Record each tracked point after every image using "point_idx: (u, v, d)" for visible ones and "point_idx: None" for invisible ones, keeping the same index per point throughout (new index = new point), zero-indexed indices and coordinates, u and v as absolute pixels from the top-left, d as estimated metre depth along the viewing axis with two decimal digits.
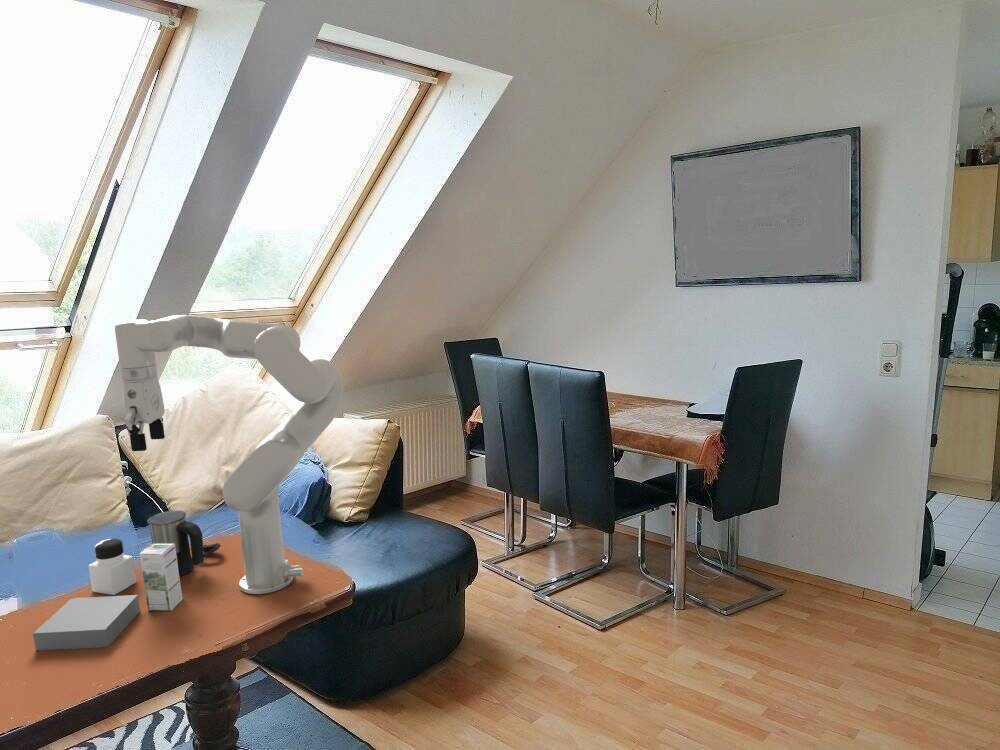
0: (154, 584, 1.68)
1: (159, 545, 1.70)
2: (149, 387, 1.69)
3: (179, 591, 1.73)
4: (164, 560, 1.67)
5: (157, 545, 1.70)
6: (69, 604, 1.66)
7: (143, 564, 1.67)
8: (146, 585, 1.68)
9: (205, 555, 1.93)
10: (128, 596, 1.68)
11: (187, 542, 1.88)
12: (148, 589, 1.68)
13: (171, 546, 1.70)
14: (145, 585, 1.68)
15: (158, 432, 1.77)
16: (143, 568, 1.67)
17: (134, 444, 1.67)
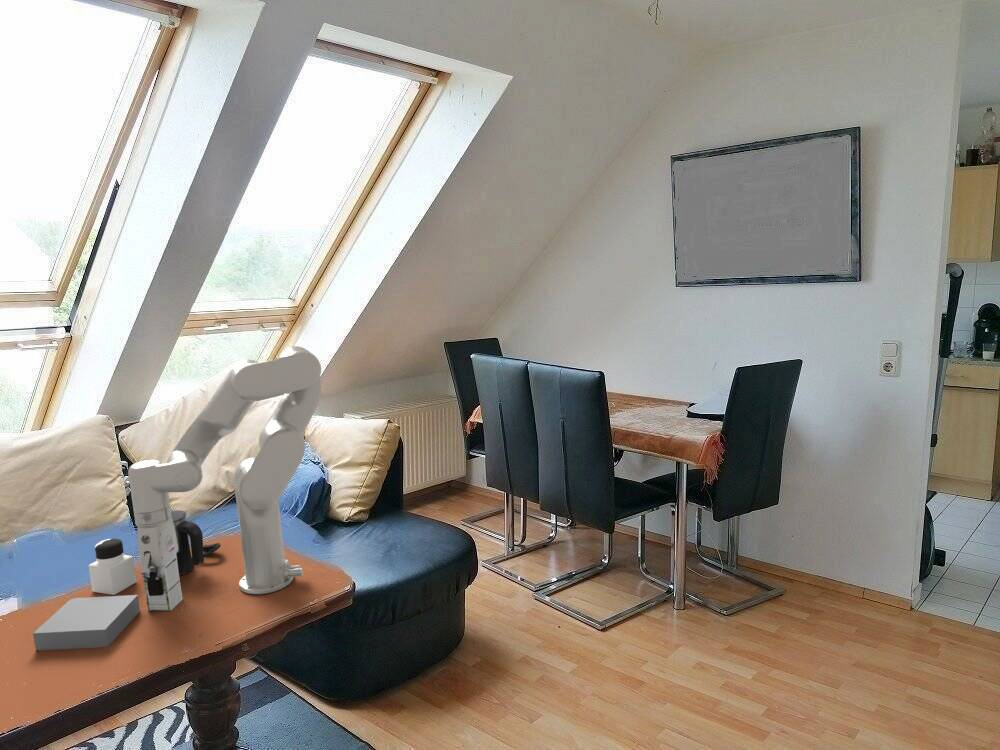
0: None
1: None
2: (163, 530, 1.66)
3: (179, 591, 1.73)
4: None
5: None
6: (69, 604, 1.66)
7: None
8: (146, 585, 1.68)
9: (205, 555, 1.93)
10: (128, 596, 1.68)
11: (187, 542, 1.88)
12: None
13: (171, 546, 1.70)
14: (145, 585, 1.68)
15: None
16: None
17: (151, 589, 1.66)
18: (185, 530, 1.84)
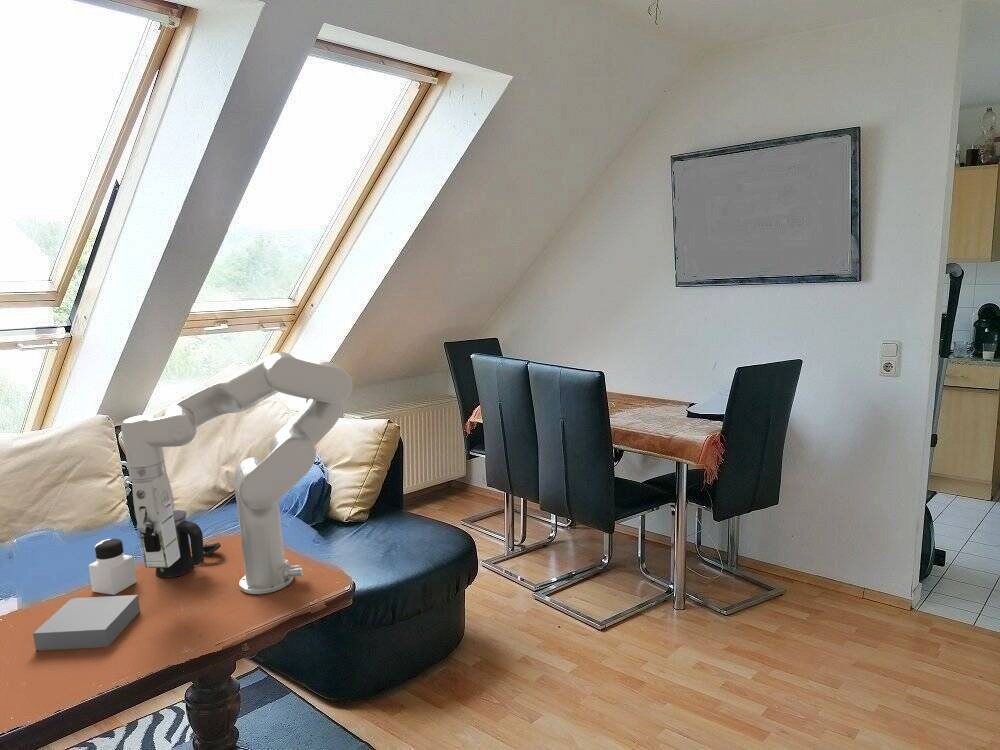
0: None
1: None
2: (158, 485, 1.65)
3: (176, 548, 1.71)
4: None
5: None
6: (69, 604, 1.66)
7: None
8: (143, 542, 1.66)
9: (205, 555, 1.93)
10: (128, 596, 1.68)
11: (187, 542, 1.88)
12: None
13: None
14: (142, 542, 1.66)
15: None
16: None
17: (148, 546, 1.64)
18: (185, 530, 1.85)
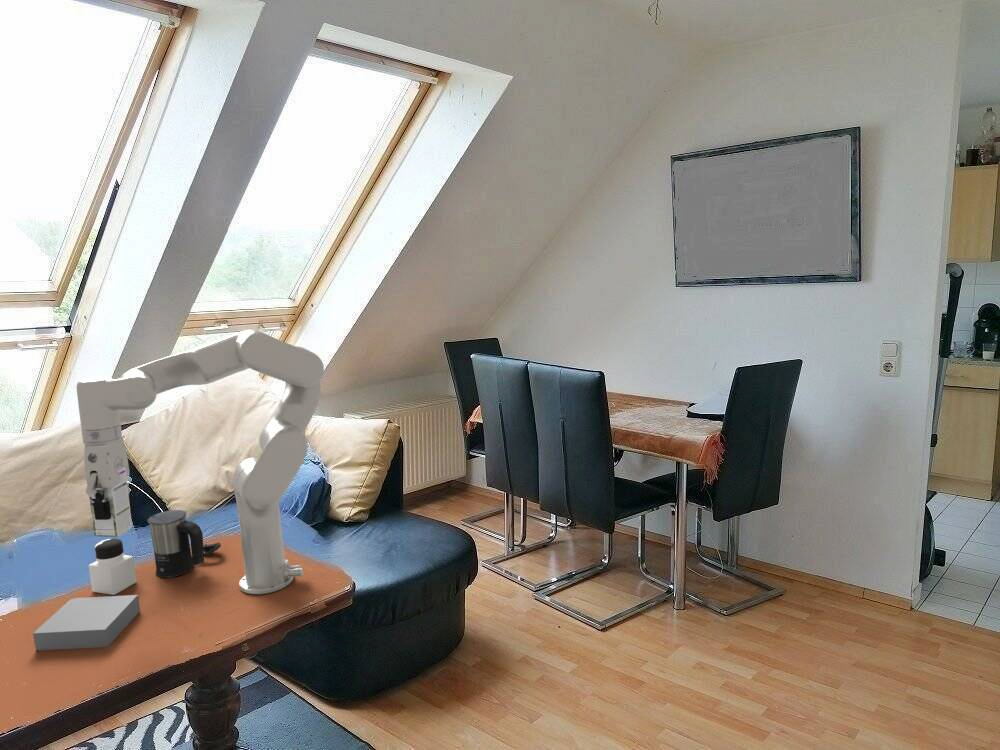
0: None
1: None
2: (112, 450, 1.58)
3: (129, 518, 1.64)
4: None
5: None
6: (69, 604, 1.66)
7: None
8: (93, 509, 1.59)
9: (205, 555, 1.93)
10: (128, 596, 1.68)
11: (187, 542, 1.88)
12: None
13: (121, 469, 1.61)
14: (92, 508, 1.59)
15: None
16: None
17: (97, 513, 1.57)
18: (185, 530, 1.85)
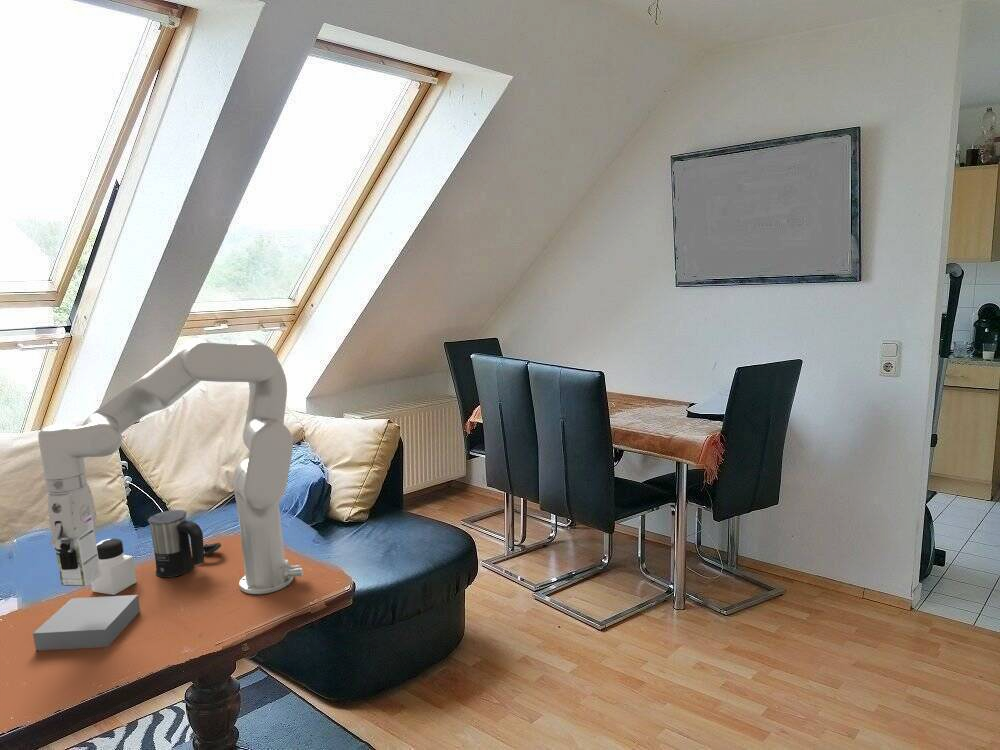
0: None
1: None
2: (77, 499, 1.55)
3: (97, 565, 1.61)
4: None
5: None
6: (69, 604, 1.66)
7: None
8: (59, 558, 1.56)
9: (206, 554, 1.93)
10: (128, 596, 1.68)
11: (188, 541, 1.88)
12: None
13: (87, 516, 1.58)
14: (58, 558, 1.56)
15: None
16: None
17: (64, 563, 1.54)
18: (185, 530, 1.85)
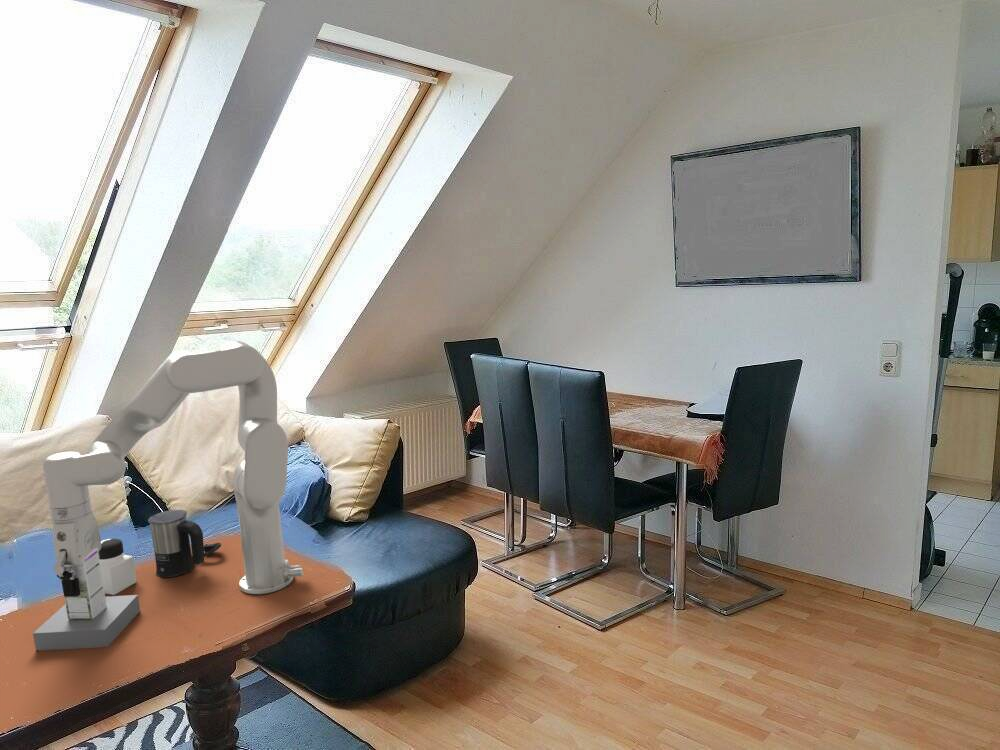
0: None
1: None
2: (82, 526, 1.56)
3: (103, 598, 1.62)
4: (85, 565, 1.56)
5: None
6: None
7: None
8: None
9: (206, 554, 1.94)
10: (128, 596, 1.68)
11: (188, 541, 1.88)
12: None
13: (93, 550, 1.59)
14: None
15: None
16: None
17: (66, 590, 1.55)
18: (185, 530, 1.85)
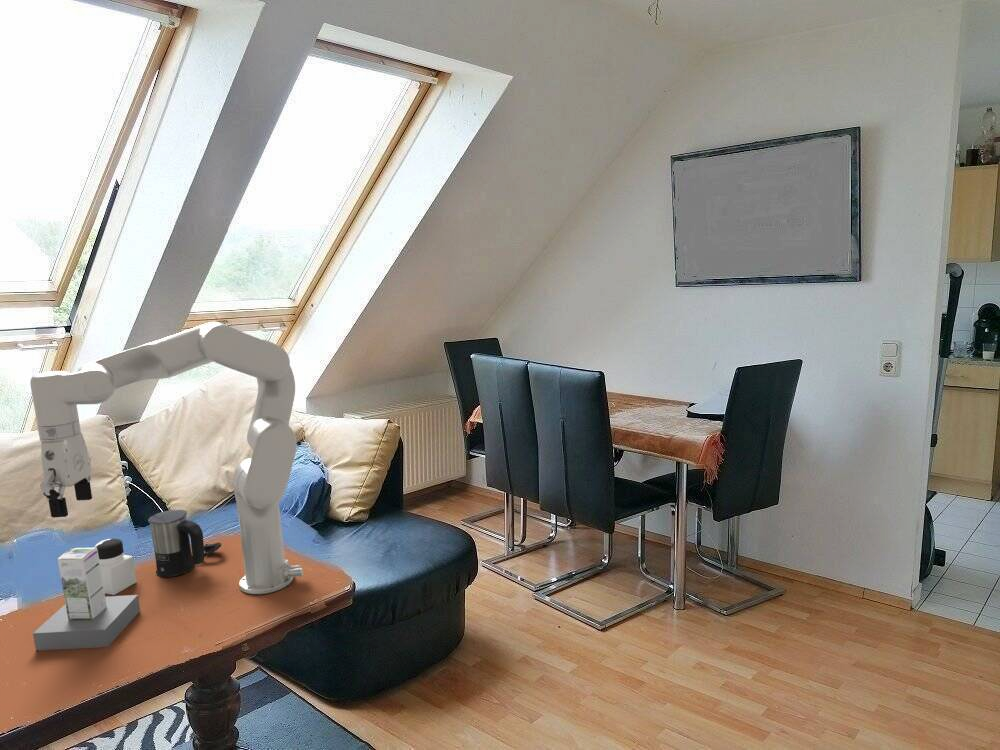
0: (74, 591, 1.57)
1: (80, 549, 1.60)
2: (70, 446, 1.53)
3: (102, 598, 1.62)
4: (84, 565, 1.56)
5: (77, 549, 1.60)
6: None
7: (62, 570, 1.56)
8: (65, 593, 1.57)
9: (206, 554, 1.94)
10: (128, 596, 1.68)
11: (188, 541, 1.88)
12: (68, 596, 1.57)
13: (93, 550, 1.59)
14: (64, 592, 1.57)
15: (84, 492, 1.61)
16: (61, 574, 1.56)
17: (53, 510, 1.51)
18: (185, 529, 1.85)
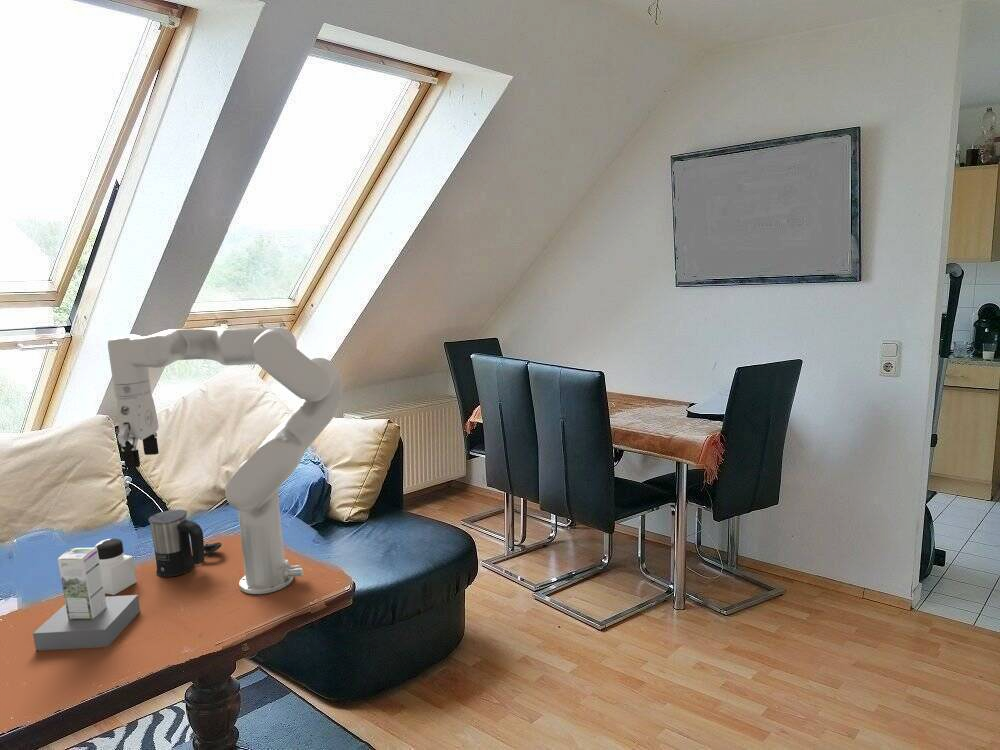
0: (74, 591, 1.57)
1: (80, 549, 1.60)
2: (143, 403, 1.68)
3: (102, 598, 1.62)
4: (84, 565, 1.56)
5: (77, 549, 1.60)
6: None
7: (62, 570, 1.56)
8: (65, 593, 1.57)
9: (206, 554, 1.94)
10: (128, 596, 1.68)
11: (188, 541, 1.89)
12: (68, 597, 1.57)
13: (93, 550, 1.59)
14: (64, 592, 1.57)
15: (152, 447, 1.76)
16: (61, 574, 1.56)
17: (127, 460, 1.66)
18: (186, 529, 1.85)
